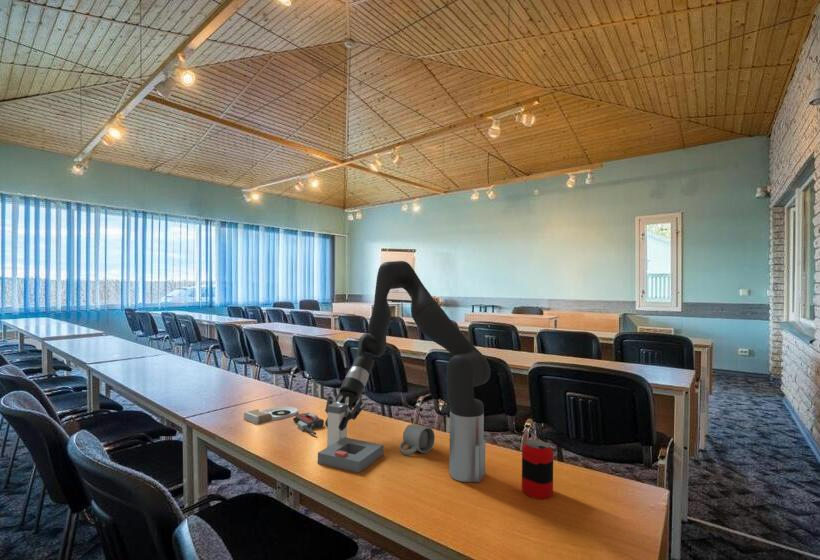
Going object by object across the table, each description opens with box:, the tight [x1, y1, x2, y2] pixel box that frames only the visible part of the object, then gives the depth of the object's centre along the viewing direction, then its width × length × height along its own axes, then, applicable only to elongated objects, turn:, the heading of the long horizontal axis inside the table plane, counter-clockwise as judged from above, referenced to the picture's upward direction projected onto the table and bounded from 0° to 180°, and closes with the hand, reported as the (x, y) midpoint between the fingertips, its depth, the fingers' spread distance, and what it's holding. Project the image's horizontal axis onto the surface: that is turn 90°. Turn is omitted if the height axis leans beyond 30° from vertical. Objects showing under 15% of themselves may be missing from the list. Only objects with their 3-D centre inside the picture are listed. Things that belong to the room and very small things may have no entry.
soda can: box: [521, 439, 554, 500], centre depth 105 cm, size 8×8×12 cm
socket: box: [317, 437, 384, 474], centre depth 123 cm, size 14×14×4 cm
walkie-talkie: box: [292, 412, 325, 436], centre depth 151 cm, size 9×4×20 cm
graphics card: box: [243, 406, 299, 425], centre depth 163 cm, size 12×3×20 cm
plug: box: [326, 401, 348, 447], centre depth 134 cm, size 5×5×13 cm
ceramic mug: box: [399, 423, 436, 456], centre depth 131 cm, size 11×8×8 cm
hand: (334, 427), depth 132 cm, fingers closed on plug, 4 cm apart
